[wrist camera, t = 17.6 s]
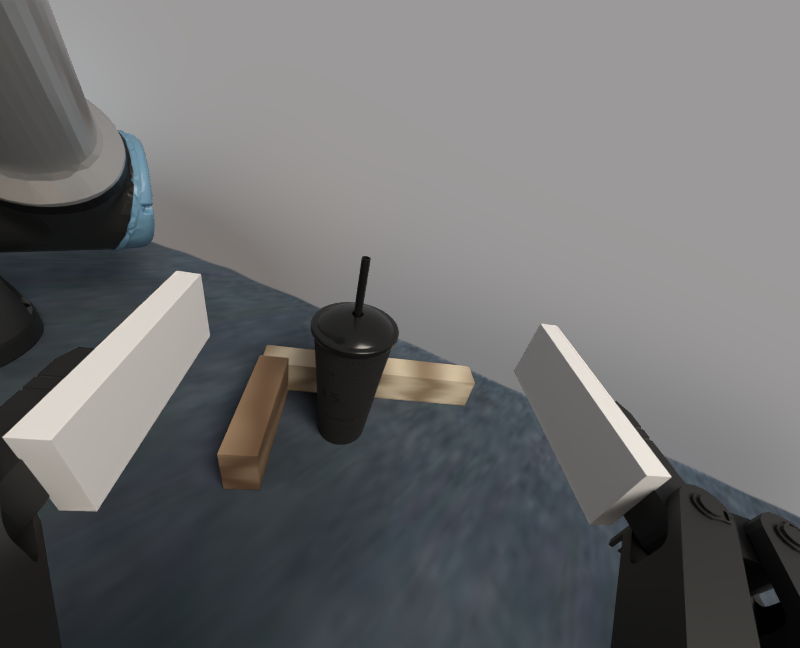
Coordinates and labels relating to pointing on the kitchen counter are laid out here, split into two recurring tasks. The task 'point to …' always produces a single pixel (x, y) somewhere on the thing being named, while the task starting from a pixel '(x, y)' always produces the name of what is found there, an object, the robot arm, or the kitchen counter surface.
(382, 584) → the kitchen counter surface
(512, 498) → the kitchen counter surface
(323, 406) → the drinking cup
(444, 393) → the wooden l-shaped block
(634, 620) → the robot arm
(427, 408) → the kitchen counter surface
